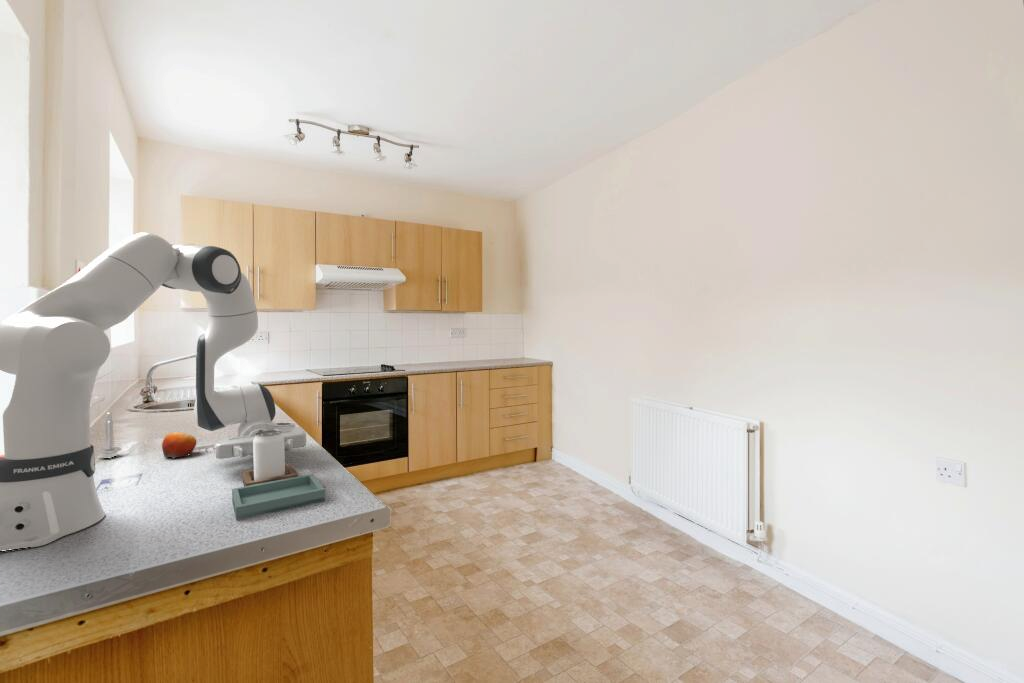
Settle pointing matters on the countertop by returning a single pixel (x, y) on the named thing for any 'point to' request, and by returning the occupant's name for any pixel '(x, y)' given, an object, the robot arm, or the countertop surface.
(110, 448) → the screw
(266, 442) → the can
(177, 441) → the fruit
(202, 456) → the countertop surface
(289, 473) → the collar
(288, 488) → the tray
